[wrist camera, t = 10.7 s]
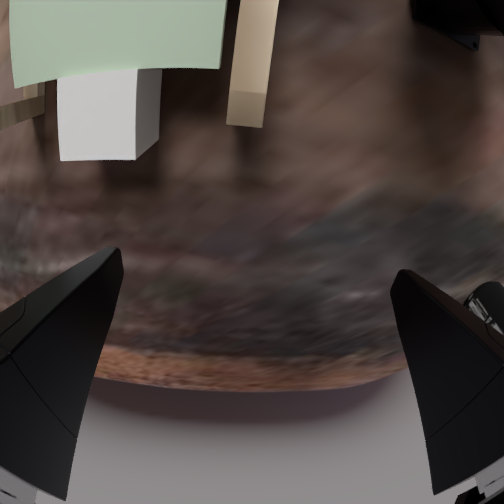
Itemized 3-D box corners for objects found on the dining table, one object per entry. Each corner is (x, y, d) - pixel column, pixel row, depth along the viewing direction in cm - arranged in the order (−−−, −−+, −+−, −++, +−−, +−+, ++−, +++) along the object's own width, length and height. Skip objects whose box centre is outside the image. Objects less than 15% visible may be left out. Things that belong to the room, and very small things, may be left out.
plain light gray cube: (137, 68, 12) (135, 159, 15) (162, 69, 16) (158, 139, 19) (57, 78, 12) (60, 160, 14) (95, 74, 16) (95, 140, 19)
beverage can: (502, 291, 29) (548, 356, 19) (469, 324, 31) (508, 393, 21) (492, 268, 26) (547, 340, 16) (454, 305, 29) (500, 384, 19)
